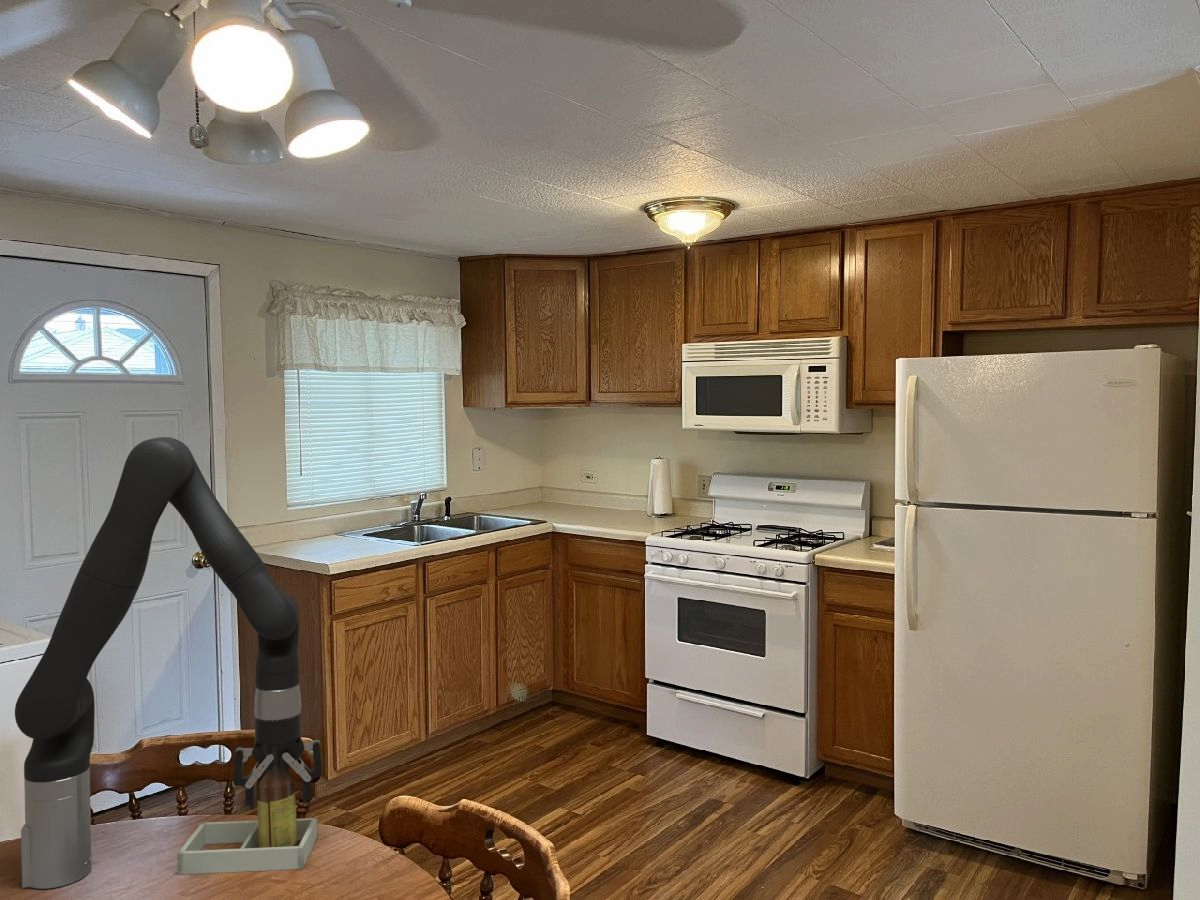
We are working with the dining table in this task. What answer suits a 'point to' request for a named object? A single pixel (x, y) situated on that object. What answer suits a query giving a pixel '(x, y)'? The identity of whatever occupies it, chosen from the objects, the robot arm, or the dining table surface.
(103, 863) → the dining table surface
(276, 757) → the sauce bottle
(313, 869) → the dining table surface
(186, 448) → the robot arm
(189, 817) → the dining table surface
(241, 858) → the corral
